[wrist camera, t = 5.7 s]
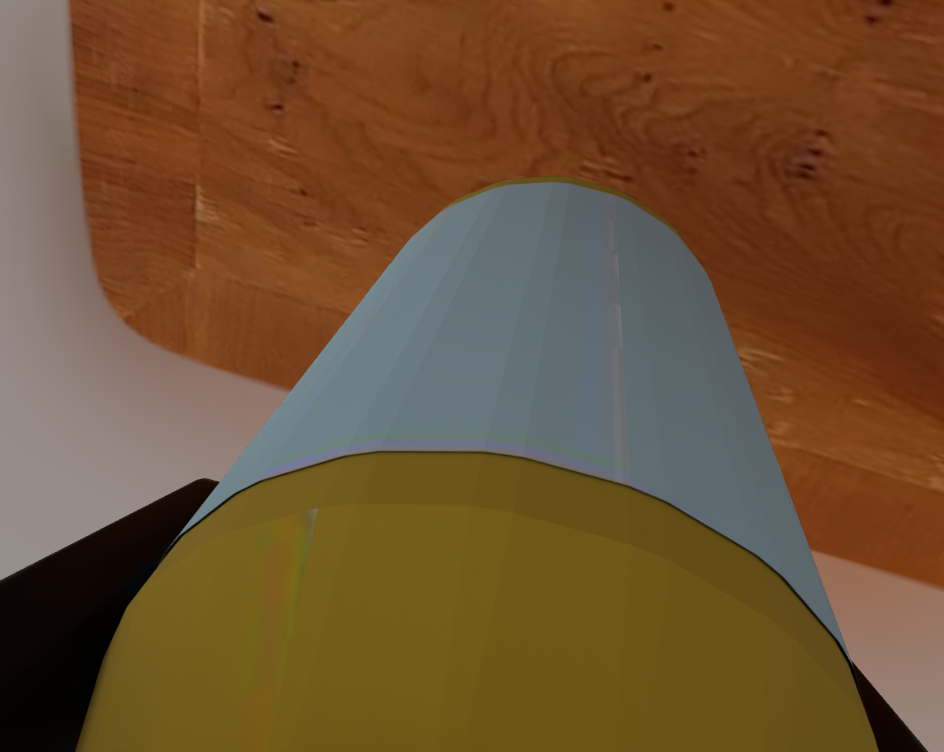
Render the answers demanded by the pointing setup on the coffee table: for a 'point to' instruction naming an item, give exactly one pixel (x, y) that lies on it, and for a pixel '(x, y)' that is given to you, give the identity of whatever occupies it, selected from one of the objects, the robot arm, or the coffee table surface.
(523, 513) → the bottle
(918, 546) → the coffee table surface
